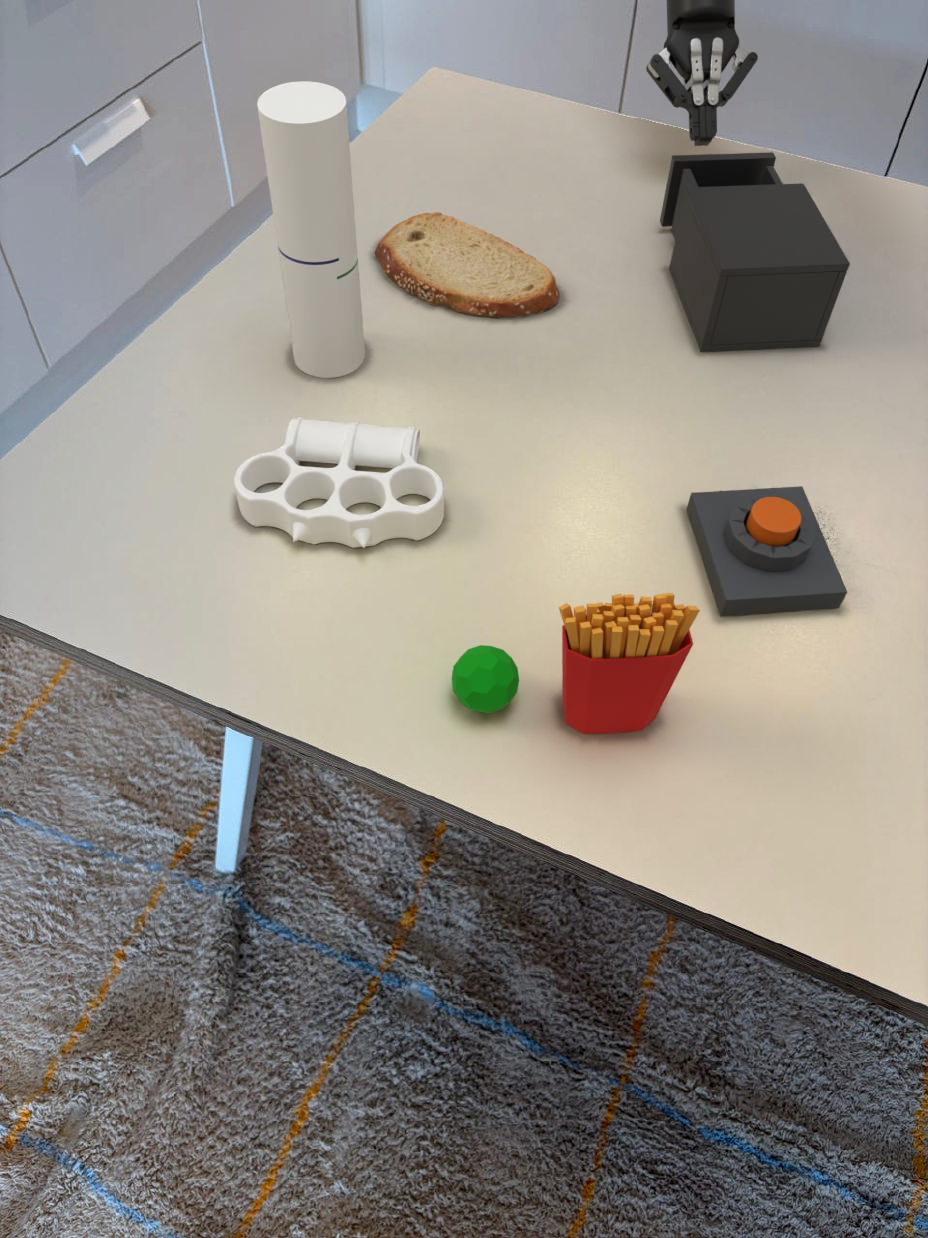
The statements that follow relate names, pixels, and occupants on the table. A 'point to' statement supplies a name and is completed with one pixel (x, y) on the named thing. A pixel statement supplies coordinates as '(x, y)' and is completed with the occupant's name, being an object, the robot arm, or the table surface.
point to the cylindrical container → (314, 223)
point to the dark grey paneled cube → (756, 267)
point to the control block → (763, 556)
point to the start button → (773, 521)
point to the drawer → (713, 177)
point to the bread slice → (465, 268)
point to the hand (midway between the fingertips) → (703, 143)
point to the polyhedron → (485, 679)
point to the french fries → (622, 660)
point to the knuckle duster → (342, 484)
